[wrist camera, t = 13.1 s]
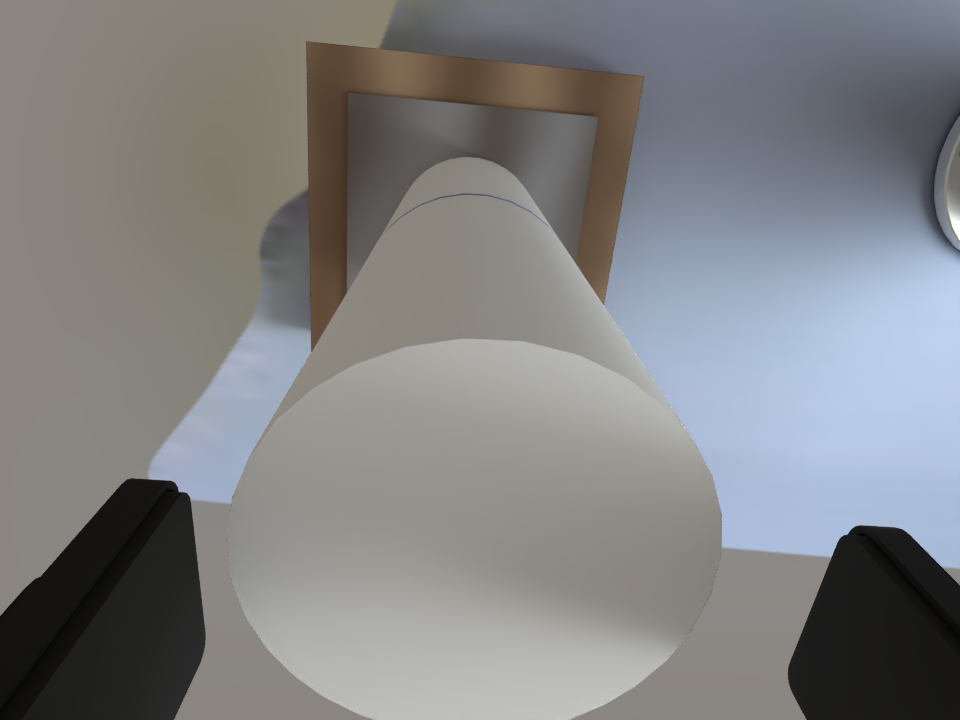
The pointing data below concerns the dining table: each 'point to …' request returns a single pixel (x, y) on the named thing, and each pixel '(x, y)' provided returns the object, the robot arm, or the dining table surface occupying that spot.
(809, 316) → the dining table surface
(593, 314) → the cylindrical container
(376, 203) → the walnut base
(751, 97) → the dining table surface
